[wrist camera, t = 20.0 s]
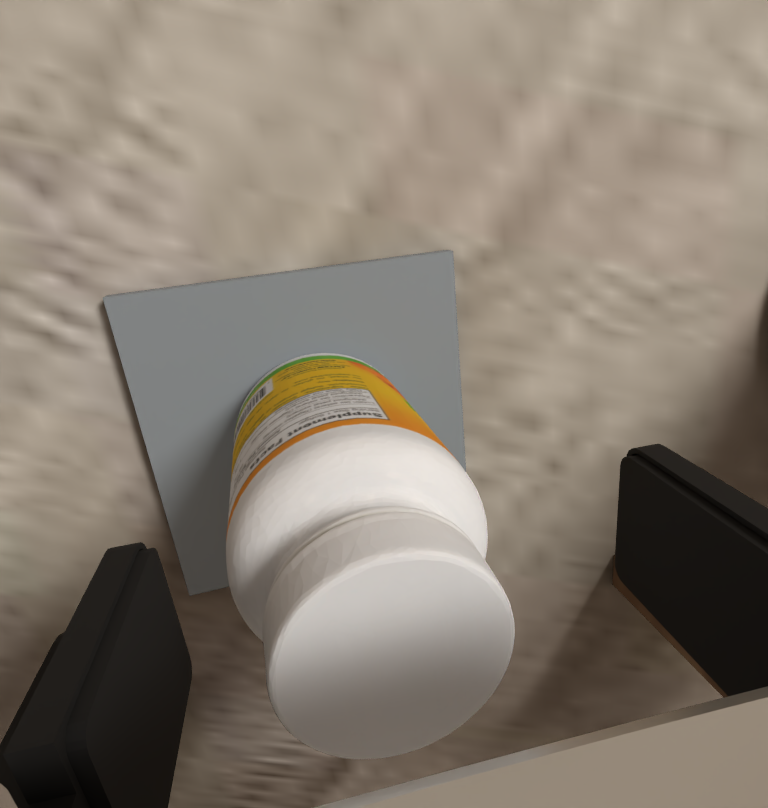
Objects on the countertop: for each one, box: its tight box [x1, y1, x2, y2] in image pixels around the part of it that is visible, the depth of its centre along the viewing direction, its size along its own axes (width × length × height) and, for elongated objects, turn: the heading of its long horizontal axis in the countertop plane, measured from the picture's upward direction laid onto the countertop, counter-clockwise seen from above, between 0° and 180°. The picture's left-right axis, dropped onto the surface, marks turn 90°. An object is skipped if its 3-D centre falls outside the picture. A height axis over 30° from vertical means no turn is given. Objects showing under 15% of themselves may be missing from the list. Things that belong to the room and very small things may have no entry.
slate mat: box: [103, 250, 466, 596], centre depth 17 cm, size 10×10×1 cm
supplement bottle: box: [226, 353, 515, 759], centre depth 13 cm, size 5×5×10 cm
